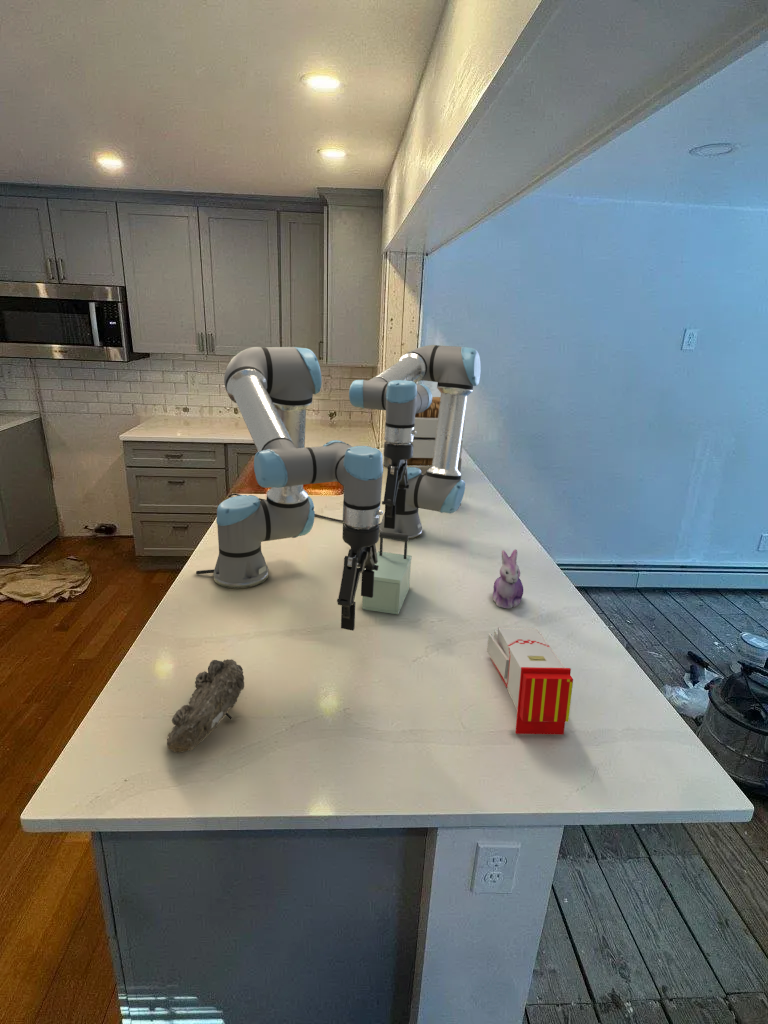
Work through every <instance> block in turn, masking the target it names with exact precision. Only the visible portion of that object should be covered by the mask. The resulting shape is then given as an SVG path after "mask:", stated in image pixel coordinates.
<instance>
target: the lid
mask: <svg viewBox="0 0 768 1024" xmlns="http://www.w3.org/2000/svg"><path fill="white" fill-rule="evenodd" d="M385 539H386V540H394V541H401V542H402V541H403V542H404V546H403V547H404V548H403V554H401V553H395V552H394V553H393V552H386V551H383V549H384V548H383V547H384V540H385ZM408 539H409V535H404V534H396V533H388V532H379V550H377V551H376V552H377V559H378V562H377V564H375V565H378V571H376V570H373V571H374V580H376V581H383V582H390V583H397V584H400V583H401V581H402V579H403V576H404V574H405V572H406V570H407V568H408V566H409V563H410V561H411V562H412V557H413V555H410V554H409V555H408V542H409V540H408Z"/></svg>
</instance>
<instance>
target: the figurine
mask: <svg viewBox="0 0 768 1024" xmlns="http://www.w3.org/2000/svg"><path fill="white" fill-rule="evenodd" d="M517 557H518V549H516V548H515V549H514V550H513V551H512V552H511V554H510V556H509V555H508V553H507V552H506V551H505V550H504V549H503V550H501V566H500V569H499V577H497V578H496V579H495V580H494V583H493V591H492V600H493V601H494V603H495V604H496V606H497V607H499V608H504V609H512V608H515V607H518V606H519V605H520V604H521V602H522V599H523V596H524V585H523V582H522V580H521V579H520V576H521V570H520V567H519V565H518V563H517V559H518V558H517Z"/></svg>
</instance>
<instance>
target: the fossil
mask: <svg viewBox="0 0 768 1024" xmlns="http://www.w3.org/2000/svg"><path fill="white" fill-rule="evenodd" d="M243 670H244V669H243V667H242V665H240V664H237V662H236V661H235V660H234V659H232V658H231V659H227V658H226V659H224V660H223V661H222V660H217V659H212V660H211V661H210V663H209V665H208V666H207V671H201V672H199V673H198V674H197V675H196V676H195V680H194V684H195V685H194V687H195V689H194V690H193V693H192V694H191V697H190V698H189V700H188V704H184V705H182V706H181V707H180V709H177V710H176V711H175V713H174V715H173V716H172V718H171V723H172V724H173V727H172V730H171V731H170V732H168V734H167V738H166V741H167V742H166V745H167V749H168V750H169V751H173V752H174V753H176V754H178V753H182V752H188V751H189V752H192V751H193V750H195V748H196V747H197V746H199V744H200V743H201V742H203V741H204V740H205V739H206V738H207V737H208V736H209V735H210V734H211V733H212V732H214V730H215V729H217V727H218V726H219V724H220V722H221V721H222V720H223V719H224V718H225V716H226V717H227V719H229V720H233V717H232V715H230V714H229V710H230V709H231V708H234V706H235V704H236V703H237V702H238V699H239V697H240V695H241V693H242V691H243V690H245V689H244V688H245V675H244V671H243Z"/></svg>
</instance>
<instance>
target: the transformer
mask: <svg viewBox="0 0 768 1024" xmlns="http://www.w3.org/2000/svg"><path fill="white" fill-rule="evenodd" d="M440 398H441V396H432V402H431V405H430V406H429V407H428V408H427V409H426V410H425V411H424V412H421V413H418V414H415V426H414V431H416V434H414V439H413V442H411V443H412V444H413V456H412V458H410V459H407V467H417V466H418V467H431V466H432V461H433V453H434V445H435V437H436V429H437V421H438V413H439V406H440ZM464 422H465V419H464ZM464 429H465V423H464V424H463V431H462V438H461V446H460V453H459V461H458V471H459V472H460V473H461V472H462V461H463V460H462V453H463V442H464V441H463V440H462V439H463V438H464V431H465V430H464ZM385 442H387V441H384V442H383V444H384V443H385ZM391 462H392V460H391V459H390V458H386V457H385V456H384V455H383V467H387V468H388V466H389V465H391ZM461 474H462V473H461Z"/></svg>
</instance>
